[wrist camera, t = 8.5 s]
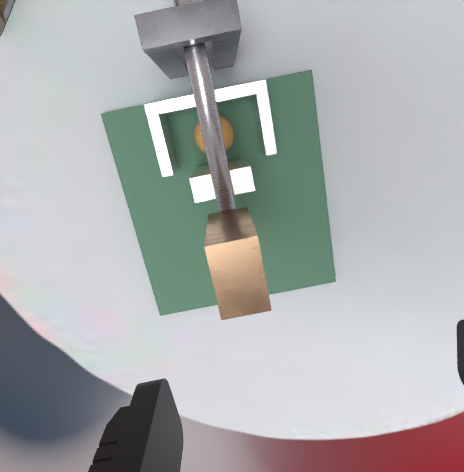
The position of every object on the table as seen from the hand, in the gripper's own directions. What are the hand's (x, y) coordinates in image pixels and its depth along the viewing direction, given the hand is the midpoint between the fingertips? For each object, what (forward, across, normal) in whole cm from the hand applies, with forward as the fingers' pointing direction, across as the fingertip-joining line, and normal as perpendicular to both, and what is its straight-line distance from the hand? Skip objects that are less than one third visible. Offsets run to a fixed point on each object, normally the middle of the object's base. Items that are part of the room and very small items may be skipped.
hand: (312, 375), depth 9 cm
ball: (+28, +2, -7) cm, 29 cm away
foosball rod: (+29, +2, -11) cm, 32 cm away
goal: (+30, +2, -7) cm, 31 cm away
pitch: (+31, +2, +1) cm, 31 cm away
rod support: (+31, +2, -14) cm, 34 cm away
